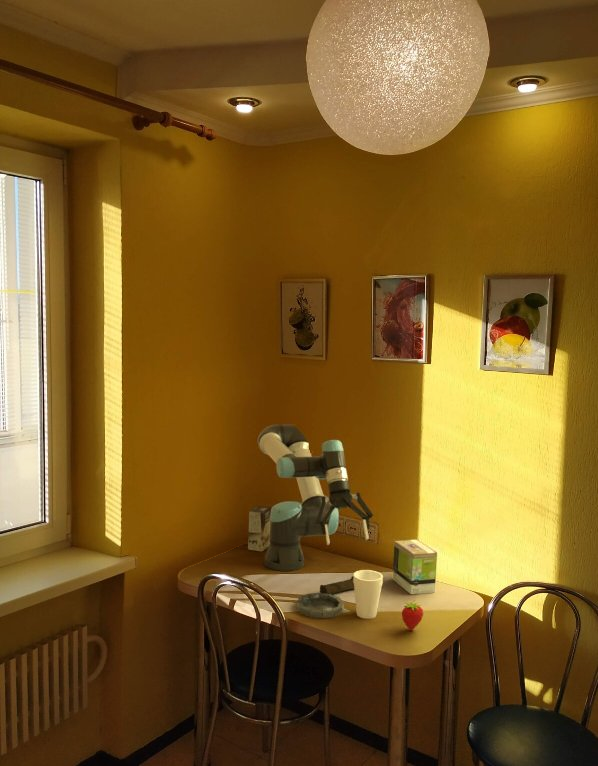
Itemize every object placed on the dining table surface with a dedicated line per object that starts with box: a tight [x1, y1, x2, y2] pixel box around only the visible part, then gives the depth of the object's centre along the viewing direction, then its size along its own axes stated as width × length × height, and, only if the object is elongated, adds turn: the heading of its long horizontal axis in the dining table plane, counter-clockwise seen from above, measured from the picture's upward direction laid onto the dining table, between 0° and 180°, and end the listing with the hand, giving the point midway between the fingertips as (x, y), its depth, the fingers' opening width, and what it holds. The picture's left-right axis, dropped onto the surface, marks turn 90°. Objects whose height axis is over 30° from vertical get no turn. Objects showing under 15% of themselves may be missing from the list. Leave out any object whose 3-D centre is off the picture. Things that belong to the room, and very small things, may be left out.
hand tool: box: [319, 575, 355, 595], centre depth 243 cm, size 19×4×5 cm, turn 120°
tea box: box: [392, 539, 438, 595], centre depth 250 cm, size 15×10×15 cm, turn 18°
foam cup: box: [353, 569, 384, 620], centre depth 225 cm, size 10×9×13 cm
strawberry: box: [401, 600, 424, 632], centre depth 214 cm, size 6×8×10 cm
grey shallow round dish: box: [296, 592, 345, 620], centre depth 229 cm, size 15×15×2 cm
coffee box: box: [247, 505, 272, 552], centre depth 285 cm, size 9×6×16 cm
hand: (347, 541), depth 241 cm, fingers open, 13 cm apart
